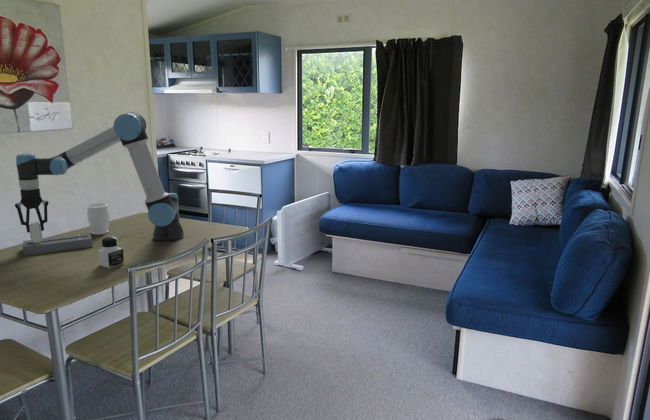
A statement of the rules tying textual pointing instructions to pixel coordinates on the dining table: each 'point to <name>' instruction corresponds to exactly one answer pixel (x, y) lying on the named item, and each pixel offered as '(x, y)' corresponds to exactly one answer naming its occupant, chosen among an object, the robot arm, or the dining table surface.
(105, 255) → the medicine bottle
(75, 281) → the dining table surface
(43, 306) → the dining table surface
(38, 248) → the slider console
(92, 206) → the jar
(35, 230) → the fader tab
